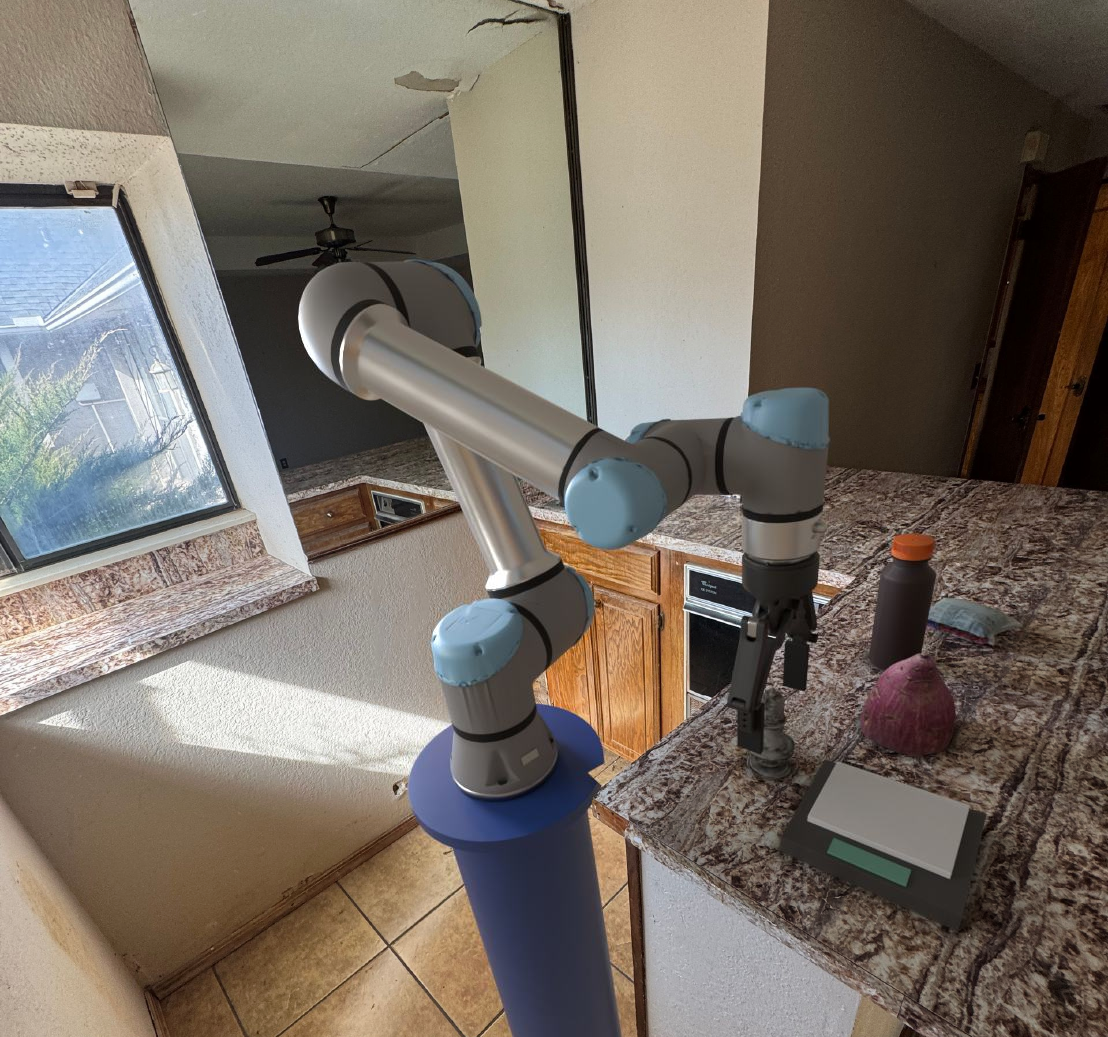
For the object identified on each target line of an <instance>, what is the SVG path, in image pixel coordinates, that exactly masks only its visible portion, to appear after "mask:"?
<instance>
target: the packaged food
mask: <svg viewBox="0 0 1108 1037" xmlns="http://www.w3.org/2000/svg"><path fill="white" fill-rule="evenodd" d="M1023 625H1024V624H1023V623H1021V622H1020V621H1018V620H1017V619H1015V618H1014V617H1012V616H1008V615H1007V614H1006V613H1005V611H1002V610H1000V609H998V608H993V607H991V606H987V605H984V604H981V603H978V602H973V601H969V600H967V599H963V598H956V597H949V598H948V597H945V596H943V597H942V598H941V599H940V600H939V601H937V602H936V603H934V604H933V605H932V606H930V611H929V616H928V621H927V627H926V628H928V629H931V630H933V631H938V632H941V633H944V634H947V635H950V636H953V637H955V638H959V639H960V640H961V639H962V640H964V641H968V642H971V643H975V644H980V645H984V644H989V645H992V646H995V644H996V643H995V642H996V640H995V636H997V635H998V634H1001V633H1004V632H1006V631H1009V630H1013V629H1014V628H1023V627H1024V626H1023Z"/></svg>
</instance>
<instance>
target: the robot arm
mask: <svg viewBox="0 0 1108 1037" xmlns="http://www.w3.org/2000/svg"><path fill="white" fill-rule="evenodd" d="M297 320H298V327H299V333H300V336H301V340H302V343H303V345H304V348H305V350H306V352H307V354H308V356H309V357H310V358H311V360H312V361H313V362H314V364H315V365H316V366H317V368H318V369H319V370H320V371H321V372H322V373H323V374H324V375H325V376H326V377H328V379H330V380H331V381H333V382H334V383H335V384H336V385H338V386H339V387H341V388H342V389H344V390H346V391H348V392H349V393H351V394H353V395H354V396H357V397H358V398H360V399H362V400H366V401H378V400H382V401H385V402H386V403H388V404H390V405H391V406H393V407H395V408H396V409H398V410H400V411H402V412H403V413H405V414H407V415H409V416H410V417H413V419H416V420H417V421H419V422H421V423H423V425H424V428H425V430H426V432H427V434H428V437H429V439H430V441H431V443H432V446H433V449H434V450H435V453H436V455H437V457H438V459H439V461H440V463H441V466H442V468H443V470H444V472H445V475H446V476H447V479H448V481H449V483H450V486H451V488H452V491H453V492H454V495H455V497H456V499H457V501H458V503H459V506H460V508H461V511H462V513H463V515H464V517H465V519H466V522H467V524H468V526H469V528H470V530H471V532H472V535H473V537H474V539H475V542H476V544H477V546H478V548H479V551H480V553H481V555H482V557H483V559H484V562H485V564H486V566H487V568H488V570H489V576H488V577H487V580H486V581H487V582H486V584H485V587H484V588H485V591H486V592H487V594H488V597H489V598H483V599H476V600H473V602H472V603H471V604H466V603H465V604H462V605H460V606H459V607H456V608H455V609H453V610H451V611H450V612H448V613H447V614H446V615H445V616H444V617H442V619H441V620H440V621H439V622H438V624H437V625H436V627H435V628H434V630H433V632H432V636H431V642H430V644H431V651H432V652H431V653H432V655H433V656H432V657H433V667H434V671H435V673H436V675H437V677H438V679H439V683H440V687H441V690H442V693H443V694H442V695H443V697H444V700H445V704H446V707H447V711H448V715H449V719H450V722H451V725H452V726H453V730H454V732H453V745H452V753H451V758H450V766H451V773H452V776H453V780H454V782H455V785H456V786H457V788H458V789H459V790H460V791H461V792H462V793H464V794H465V795H467V796H468V797H470V798H473V799H476V800H480V801H486V802H502V801H508V800H513V799H517V798H520V797H522V796H525V795H527V794H529V793H531V792H533V791H535V790H536V789H538V788H539V787H540V786H542V785H543V784H544V783H545V782H546V781H547V780H548V779H549V778H550V777H551V776H552V774H553V773H554V771H555V769H556V767H557V764H558V757H559V756H558V749H557V743H556V741H555V738H554V736H553V734H552V732H551V730H550V729H549V727H548V726H547V724H546V722H545V721H544V719H543V718H542V716H541V715H540V713H539V711H538V710H537V706H536V704H537V702H536V701H537V700H536V695H535V690H534V682H535V681H536V680H537V679H538V678H539V677H540V676H541V675H542V674H543V673H545V672H546V671H547V670H548V669H549V668H550V667H552V665H554V664H555V662H557V661H558V660H559V659H560V658H561V657H562V656H563V655H564V654H565V653H567V652H568V651H569V650H570V649H571V648H573V647H575V646H577V644H578V643H579V642H580V641H581V639H582V638H583V636H584V634H586V632H587V631H588V630H589V629H590V627H591V625H592V623H593V620H594V618H595V617H594V616H595V610H596V605H595V604H596V603H595V597H594V594H593V591H592V588H591V585H590V584H589V583H588V581H587V580H586V578H585V577H584V575H582V574H581V573H577V572H576V571H577V570H576V569H575V568H573V567H572V566H570V565H567V564H564V561H563V559H562V557H561V555H560V554H559V553H556V552H554V551H552V550H549V549H548V548H547V547H546V546H545V543H544V541H543V538H542V535H541V533H540V531H539V529H538V526H537V523H536V522H535V519H534V516H533V514H532V512H531V509H530V506H529V503H528V502H527V499H526V497H525V495H524V492H523V490H522V487H521V485H520V482H519V480H518V479H520V480H522V481H523V482H525V483H527V484H528V485H530V486H532V487H534V488H535V489H538V490H539V491H541V492H542V493H544V494H546V495H548V496H549V497H551V498H553V499H555V500H557V501H558V502H560V503H562V504H563V505H564V510H565V514H566V519H567V521H568V523H569V524H570V527H572V528H573V529H574V531H575V532H576V533H577V535H578V538H580V539H581V540H582V542H584V543H585V544H587V545H589V546H591V547H594V548H596V549H599V550H604V551H617V550H620V549H623V548H626V547H628V546H630V545H632V544H633V543H635V542H637V541H638V540H640V539H643V538H644V537H646V536H648V535H649V534H650V533H652V532H653V531H655V529H656V528H657V527H658V525H660V524H661V523H662V521H664V520H665V519H666V518H668V516H669V515H671V514H672V513H673V512H675V511H677V510H678V509H679V508H681V507H682V506H683V505H685V504H686V503H687V502H688V501H690V500H691V499H692V498H693V497H694V496H734V495H737V496H741V502H742V504H741V544H740V545H741V549H742V550H741V551H743V552H744V553H743V554H742V555H741V584H742V587H743V588H744V589H745V590H746V592H748V593H750V594H751V595H752V596H753V597H754V598H755V599H756V601H755V604H754V606H753V609H752V612H751V616H750V615H742V617H741V619H740V629H739V630H740V631H739V640H738V644H737V646H738V647H737V651H736V656H735V660H734V666H733V670H732V677H731V681H730V685H729V691H728V695H727V699H726V707H727V708H729V709H732V710H734V711H735V710H736V711H737V712H736V713H737V718H736V719H737V721H736V724H737V726H736V728H737V730H736V731H737V732H736V736H737V737H736V743H737V744H736V746H737V747H738V748H741V749H743V750H746V751H748V750H749V751H752V752H755V753H758V754H761V753H762V752H763V744H764V711H765V703H762V702H761V701H762V697H763V694H764V692H765V690H766V686H767V683H768V680H769V677H770V676H769V675H770V672H771V669H772V666H773V662H774V659H775V655H776V652H777V650H779V649H781V648H782V647H783V646H784V650H783V672H782V673H783V674H782V687H785V688H789V689H794V690H796V691H800V692H805V691H806V690H807V686H808V674H809V673H808V671H809V658H810V644H809V643H811V644H817V642H818V640H819V633H813V632H815V631H816V630H817V629H818V620H817V612H816V607H815V600H814V595H813V591H814V590H815V589H816V588H817V586H818V583H819V574H820V573H819V572H820V558H821V556H820V553H819V552H818V550H820V547H821V539H822V538H821V537H822V534H825V533H826V532H827V531H828V524H827V523H825V522H822V518H823V510H824V501H825V500H824V498H825V489H826V479H827V478H826V477H827V467H828V457H829V456H828V455H829V447H830V442H831V437H829V428H830V427H829V426H830V425H829V421H830V418H829V417H830V415H829V414H830V413H829V411H830V407H829V406H830V404H829V403H830V401H829V397H828V395H827V394H826V393H825V392H824V391H822V390H821V389H818V388H815V387H787V388H781V389H772V390H766V391H761V392H757V393H754V394H751V395H750V396H748V397H746V398H745V400H744V402H743V404H742V411H741V412H740V415H737V416H735V417H733V416H731V417H719V418H694V419H693V418H691V419H671V418H662V419H660V420H658V421H657V420H656V421H647V422H643V423H638V424H636V425H635V426H634V427H633V428H632V429H631V431H630V433H629V436H628V437H627V438H626V439H625V440H624V439H623V438H621V437H618V436H617V435H615V434H613V433H610V432H609V431H606V430H604V428H603V429H602V428H601V427H599V426H597V425H595V424H594V423H591V422H590V421H588V420H586V419H584V418H583V417H581V416H579V415H576V414H574V413H573V412H570V411H569V410H567V409H564V408H563V407H561V406H560V405H558V404H555V403H554V402H552V401H550V400H548V399H546V398H544V397H542V396H540V395H538V394H536V393H534V392H533V391H531V390H530V389H527V388H525V387H523V386H521V385H519V384H518V383H515V382H513V381H511V380H509V379H508V378H506V377H504V376H502V375H500V374H498V373H497V372H495V371H494V370H493V371H492V370H491V369H489V368H487V367H485V366H483V365H481V363H482V358H481V357H480V354H479V350H478V349H477V348H478V346H479V344H480V341H481V338H482V337H481V336H482V333H481V332H480V329H481V327H482V325H483V321H482V314H481V309H480V306H479V302H478V300H477V298H476V296H475V293H474V292H473V290H472V288H471V287H470V285H469V284H468V282H467V281H466V280H465V279H464V278H463V277H462V275H460V273H458V272H457V271H456V270H455V269H453V268H452V267H449V266H448V265H445V264H443V263H439V262H434V261H428V260H424V259H415V258H414V259H406V260H403V261H369V262H368V261H361V262H360V261H345V262H342V261H341V262H337V263H334V264H332V265H330V266H327V267H325V268H323V269H322V270H320V271H318V272H317V273H316V274H315V275H314V276H313V277H311V279H310V280H309V282H308V283H307V285H306V286H305V288H304V290H303V293H302V295H301V298H300V301H299V307H298V319H297ZM812 631H813V632H812ZM786 636H787V638H788V639H786V640H785V638H786ZM770 637H771V638H770ZM773 637H774V638H773ZM789 639H791V640H789Z"/></svg>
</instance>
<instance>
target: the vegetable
mask: <svg viewBox="0 0 1108 1037" xmlns="http://www.w3.org/2000/svg"><path fill="white" fill-rule="evenodd" d="M956 714H957V712H956V704H955V701H954V697H953V695H952V693H951V690H950V688H949V687H948V685H947V684H946V682H945V680H944V679H943V677H942V675H941V674H940V672H939V670H938V667H937V663H936V660H935V658H934V657H933V656H932V655H930V654H928V653H925V652H921V653H920V654H916V655H914V656H912V657H910V658H908V659H905V660H902V661H900V662H897V663H896V664H893V665H892V666H890V667H889V668H888V669H886V670H883V672H882V673H881V675H880V676H879V678H877V681H876V683H875V684H874V686H873V687H872V688H871V690H870V692H869V694H868V695H867V698H866V700H865V704H864V707H863V710H862V714H861V717H860V731H861V733H862V734H863V735H864V736H865V737H866V738H868V740H870V741H871V742H874V743H875V744H877V745H879V746H882V747H884V748H886V749H889V750H890V751H893V752H895V753H896V754H897V753H898V754H902V755H906V756H908V757H913V756H915V757H920V756H927V755H932V754H937V753H939V752H942V751H944V750H946V748H947V747H948V745H949V744H950V742H951V740H952V737H953V735H954V731H955V727H956V716H957V715H956Z"/></svg>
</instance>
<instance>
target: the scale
mask: <svg viewBox="0 0 1108 1037" xmlns="http://www.w3.org/2000/svg"><path fill="white" fill-rule="evenodd" d="M987 815H988V814H987V813H986V812H982V811H980V810H976V809H974V808H971V805H969V804H966V803H963V802H960V801H958V800H954V799H953V798H952V799H951V798H949V797H946V796H943V795H940V794H937V793H933V792H931V791H928V790H924V789H922V788H919V787H916V786H913V785H909V784H907V783H903V782H901V781H898V780H895V779H892V778H888V777H886V776H882V775H880V774H877V773H873V772H871V771H868V770H865V769H861V768H859V767H856V766H853V765H851V764H847V763H844V762H841V761H836V762H834V761H832V760H829V759H824V760H823V762H822V764H821V765H820V768H819V769H818V771H817V773H816V774H815V776H814V778H813V780H812V782H811V783H810V784H809V786H808V788H807V790H806V792H805V794H804V796H803V797H802V798H801V801H800V803H799V804H798V806H797V808H796V810H795V811H794V813H793V815H792V817H791V818H790V820H789V821H788V824H787V825H786V827H785V829H784V830H783V833H782V834H781V836H780V843H779V852H780V853H783V854H785V855H787V856H789V857H792V858H794V859H796V860H799V861H800V862H802V863H804V864H807V865H810V866H812V867H814V868H816V869H817V870H821V871H822V872H825V873H827V874H829V875H831V876H834V877H836V878H838V879H841V880H843V881H845V882H846V883H849V884H852V885H853V886H856V887H858V888H861V889H863V890H865V891H867V892H870V893H872V894H874V895H876V896H878V897H880V898H883V899H885V900H887V901H889V902H891V903H894V904H896V905H898V906H900V907H902V908H904V909H907V910H909V911H910V912H913V913H916V914H918V915H920V916H922V917H924V918H926V919H929V920H930V921H933V922H935V923H937V924H939V925H942V926H944V927H946V928H948V929H951V930H953V931H955V932H959V929H960V926H961V923H962V919H963V917H964V916H963V915H964V912H965V909H966V905H967V899H968V896H969V892H970V887H971V882H972V879H973V874H974V870H975V867H976V861H977V858H978V854H979V849H980V845H981V840H982V837H983V832H984V828H985V824H986V819H987Z"/></svg>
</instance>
